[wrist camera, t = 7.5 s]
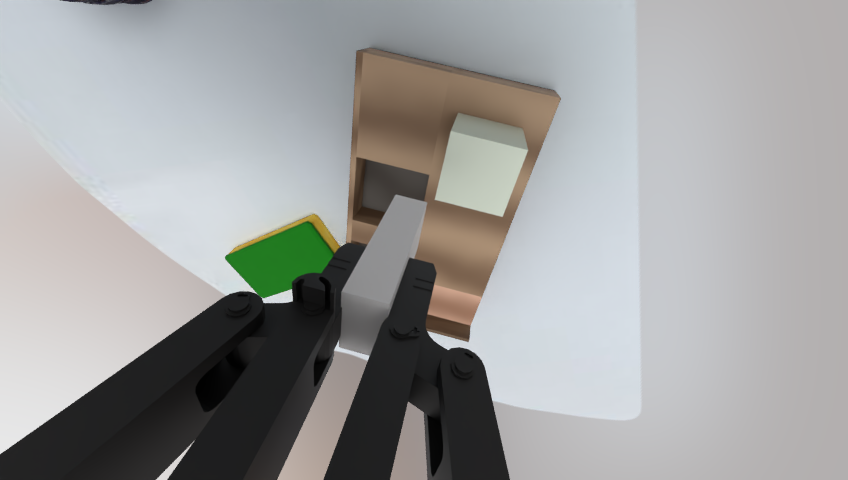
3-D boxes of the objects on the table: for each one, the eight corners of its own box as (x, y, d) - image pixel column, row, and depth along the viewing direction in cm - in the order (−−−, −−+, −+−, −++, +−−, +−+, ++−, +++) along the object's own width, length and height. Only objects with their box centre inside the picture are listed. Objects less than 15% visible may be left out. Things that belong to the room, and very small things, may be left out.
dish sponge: (235, 246, 42) (222, 257, 40) (317, 211, 37) (307, 222, 35) (271, 286, 45) (261, 299, 43) (352, 259, 40) (344, 272, 38)
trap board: (369, 47, 26) (346, 53, 22) (554, 90, 26) (565, 104, 22) (352, 277, 41) (336, 306, 37) (471, 308, 40) (468, 341, 36)
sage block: (458, 112, 25) (450, 131, 21) (522, 128, 25) (528, 150, 21) (443, 173, 28) (434, 199, 24) (501, 187, 28) (502, 216, 24)
